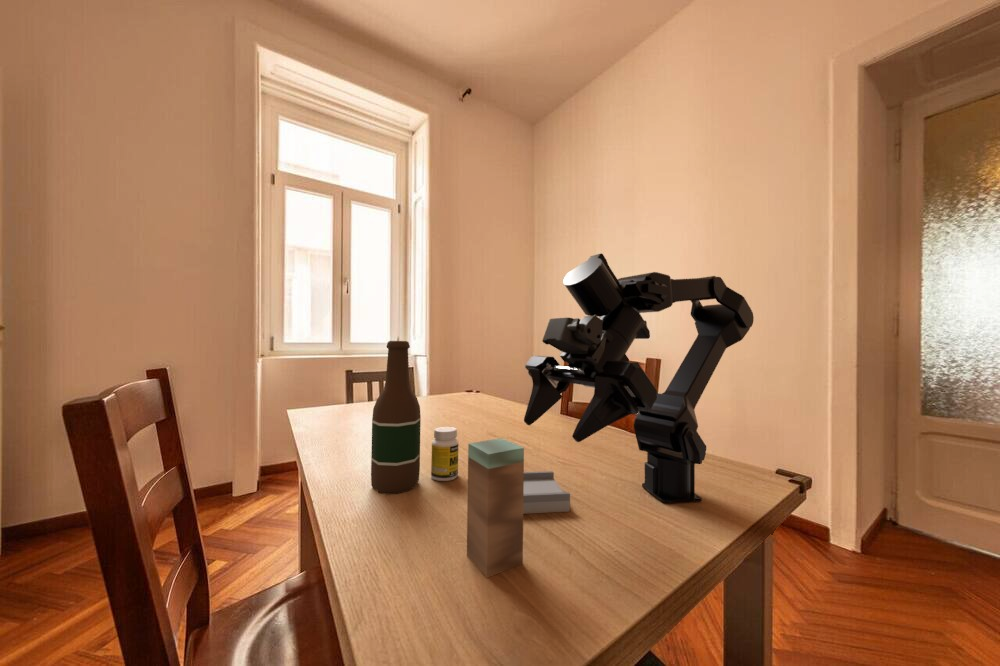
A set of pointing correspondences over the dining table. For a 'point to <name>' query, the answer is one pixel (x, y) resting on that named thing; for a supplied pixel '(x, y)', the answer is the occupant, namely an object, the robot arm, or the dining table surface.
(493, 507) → the green-topped wooden block
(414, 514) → the dining table surface
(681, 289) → the robot arm
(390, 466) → the beer bottle
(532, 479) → the tray
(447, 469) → the supplement bottle
